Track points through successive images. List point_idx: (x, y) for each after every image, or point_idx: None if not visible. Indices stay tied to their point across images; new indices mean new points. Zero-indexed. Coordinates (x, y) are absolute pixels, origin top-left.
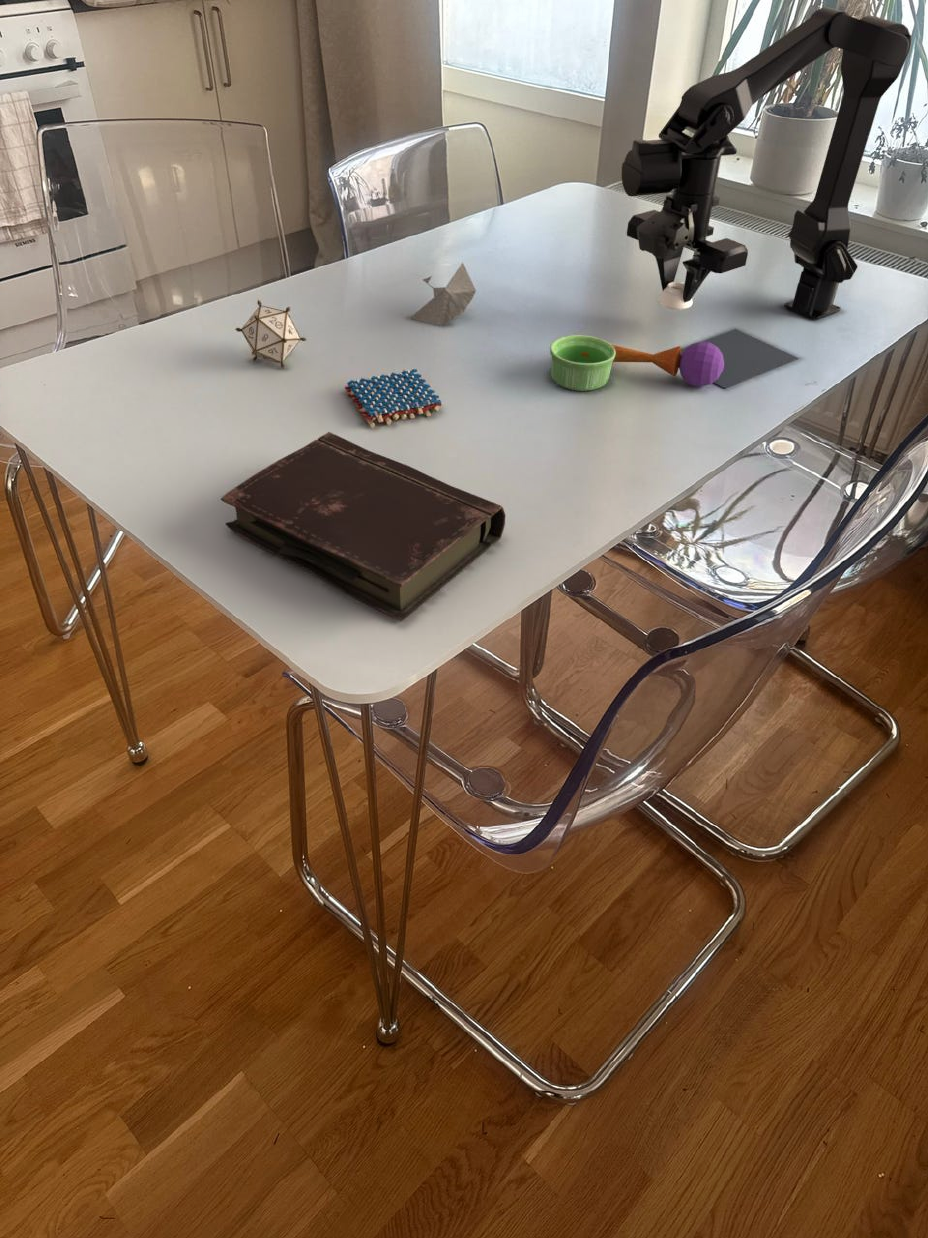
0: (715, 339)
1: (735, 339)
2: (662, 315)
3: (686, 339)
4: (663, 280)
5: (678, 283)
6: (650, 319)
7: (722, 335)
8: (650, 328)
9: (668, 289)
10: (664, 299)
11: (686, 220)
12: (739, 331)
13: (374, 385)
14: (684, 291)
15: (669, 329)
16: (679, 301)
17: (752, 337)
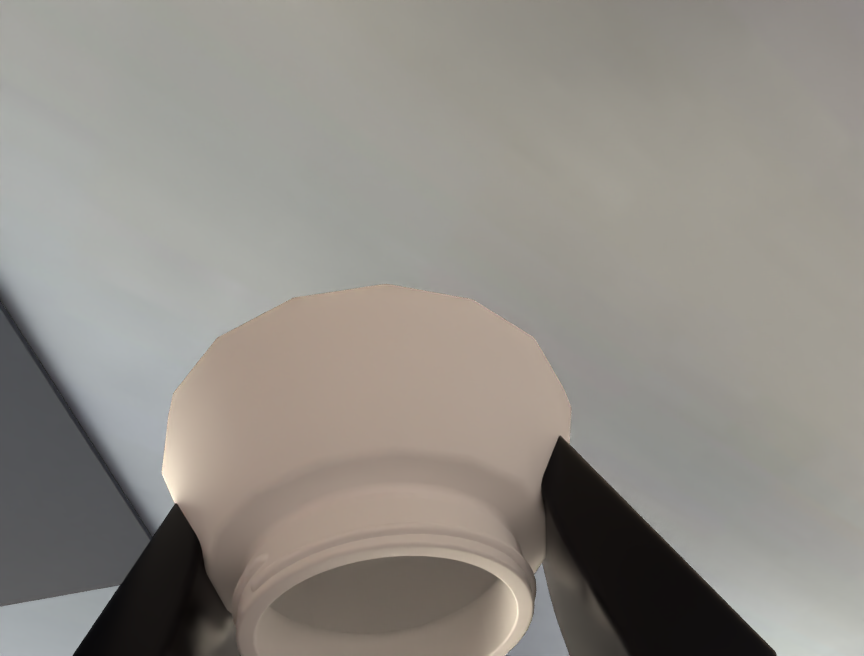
0: (41, 433)
1: (14, 524)
2: (584, 330)
3: (111, 264)
4: (607, 568)
5: (475, 645)
6: (590, 216)
7: (95, 491)
8: (447, 108)
9: (413, 504)
10: (364, 356)
11: None
12: None
13: None
14: (148, 630)
15: (348, 247)
16: (187, 469)
17: (25, 596)
